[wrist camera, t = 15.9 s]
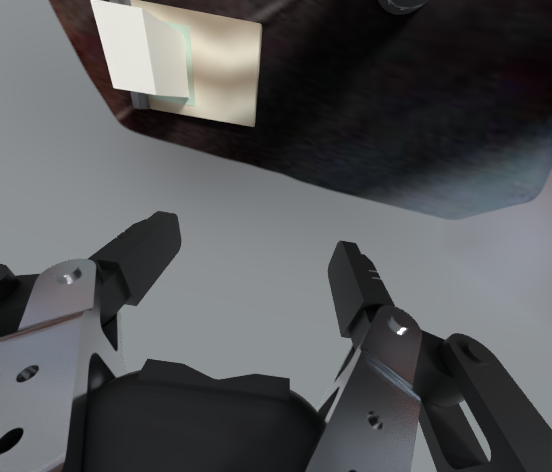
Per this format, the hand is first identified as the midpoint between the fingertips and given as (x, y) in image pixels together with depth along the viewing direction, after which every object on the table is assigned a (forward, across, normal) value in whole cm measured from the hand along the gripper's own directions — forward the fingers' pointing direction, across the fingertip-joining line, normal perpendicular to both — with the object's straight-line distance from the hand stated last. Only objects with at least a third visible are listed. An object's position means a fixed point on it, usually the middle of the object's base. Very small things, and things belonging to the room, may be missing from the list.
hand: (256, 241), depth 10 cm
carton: (+28, +18, -8) cm, 35 cm away
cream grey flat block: (+30, +14, -8) cm, 34 cm away
